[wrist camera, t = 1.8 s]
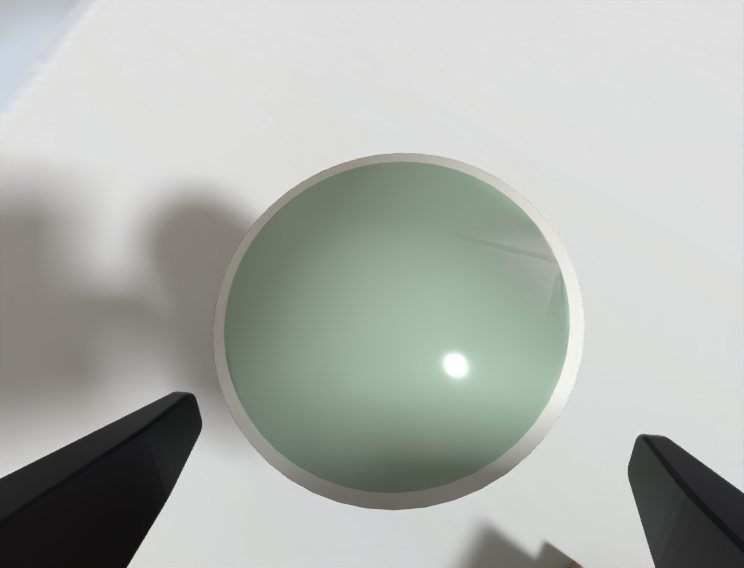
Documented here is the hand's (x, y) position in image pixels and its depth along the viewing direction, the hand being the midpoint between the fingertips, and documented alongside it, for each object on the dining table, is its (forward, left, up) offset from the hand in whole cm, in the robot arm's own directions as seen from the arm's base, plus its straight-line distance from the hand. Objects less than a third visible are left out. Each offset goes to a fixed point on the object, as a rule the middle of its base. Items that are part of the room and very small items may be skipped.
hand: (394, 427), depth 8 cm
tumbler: (+2, +1, -10) cm, 10 cm away
